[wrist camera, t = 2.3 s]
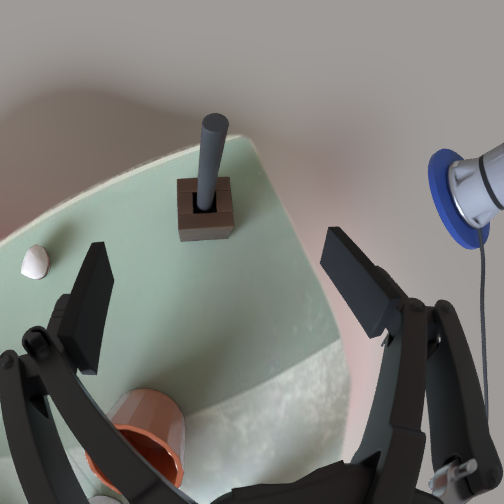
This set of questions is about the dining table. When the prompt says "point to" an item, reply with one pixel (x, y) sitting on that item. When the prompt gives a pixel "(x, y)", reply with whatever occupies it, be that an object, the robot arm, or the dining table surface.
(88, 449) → the robot arm
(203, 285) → the dining table surface
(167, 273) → the dining table surface
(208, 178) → the rod
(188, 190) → the holder
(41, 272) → the white seashell
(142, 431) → the tumbler
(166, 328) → the dining table surface
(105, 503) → the mug
